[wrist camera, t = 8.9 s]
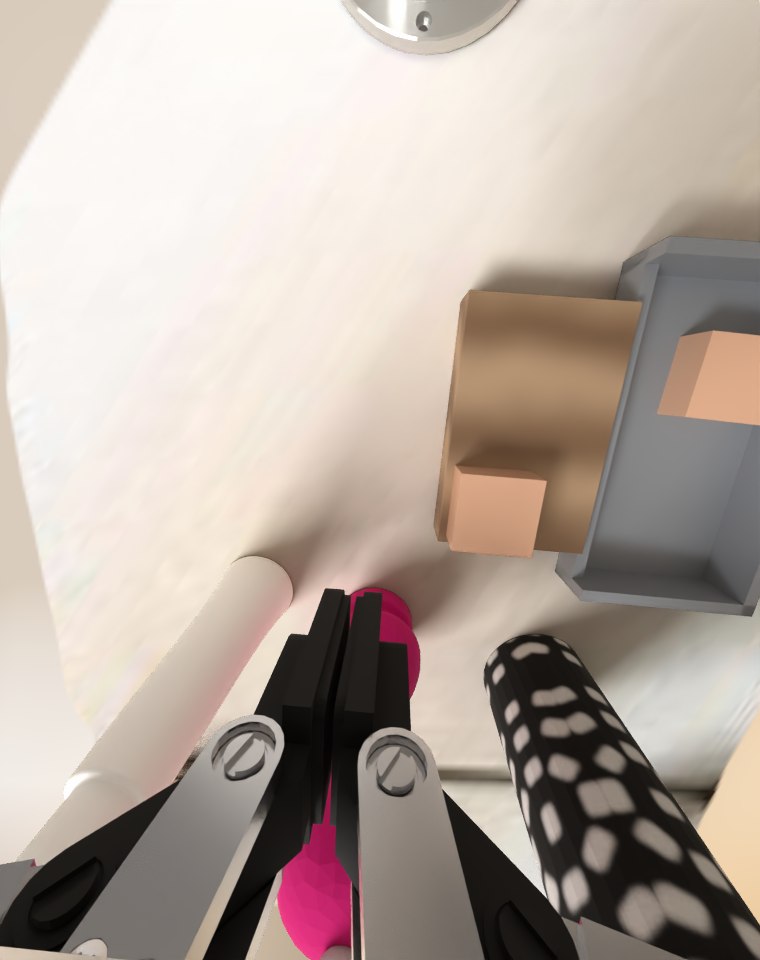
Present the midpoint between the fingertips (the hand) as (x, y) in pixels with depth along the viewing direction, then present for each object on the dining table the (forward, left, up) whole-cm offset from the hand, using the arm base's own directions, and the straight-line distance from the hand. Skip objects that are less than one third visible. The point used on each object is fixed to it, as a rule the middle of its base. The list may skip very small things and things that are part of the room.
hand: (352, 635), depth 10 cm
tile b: (0, +7, -14) cm, 16 cm away
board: (-5, +9, -17) cm, 20 cm away
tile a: (-9, +21, -14) cm, 27 cm away
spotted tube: (+16, +14, -18) cm, 28 cm away
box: (-5, +20, -17) cm, 27 cm away
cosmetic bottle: (+10, -10, -18) cm, 22 cm away
